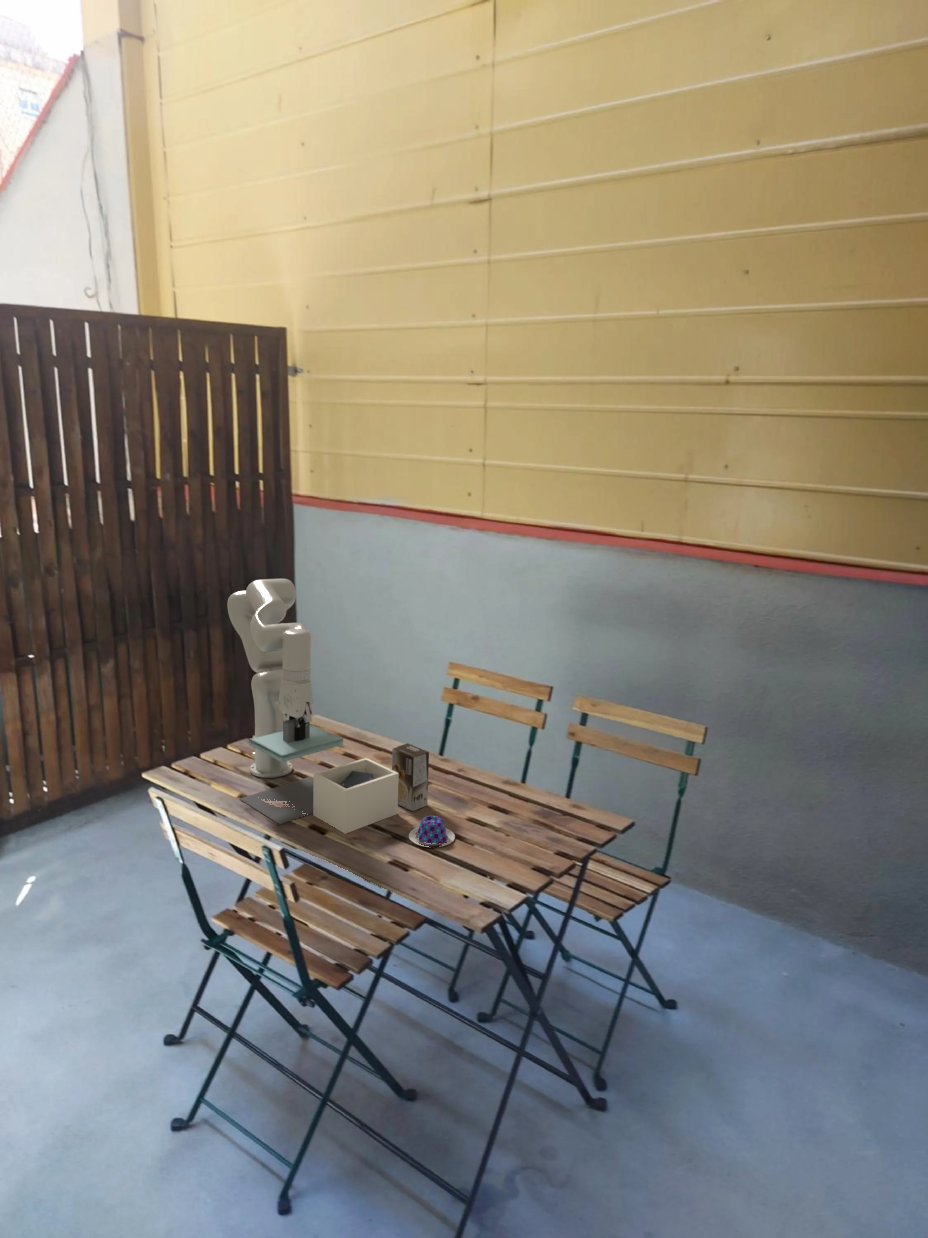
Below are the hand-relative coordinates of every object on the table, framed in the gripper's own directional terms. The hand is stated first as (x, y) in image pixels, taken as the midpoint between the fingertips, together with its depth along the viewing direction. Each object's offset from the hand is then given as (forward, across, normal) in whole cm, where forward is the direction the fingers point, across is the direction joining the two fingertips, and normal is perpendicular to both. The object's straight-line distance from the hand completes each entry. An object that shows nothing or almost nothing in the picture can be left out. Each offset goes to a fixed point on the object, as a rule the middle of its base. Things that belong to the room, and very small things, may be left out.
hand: (296, 737), depth 230 cm
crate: (+19, +18, +7) cm, 27 cm away
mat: (+19, 0, 0) cm, 19 cm away
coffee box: (+19, +22, +23) cm, 37 cm away
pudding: (+19, +41, +14) cm, 47 cm away
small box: (+19, +18, +7) cm, 27 cm away
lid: (+2, 0, 0) cm, 2 cm away
